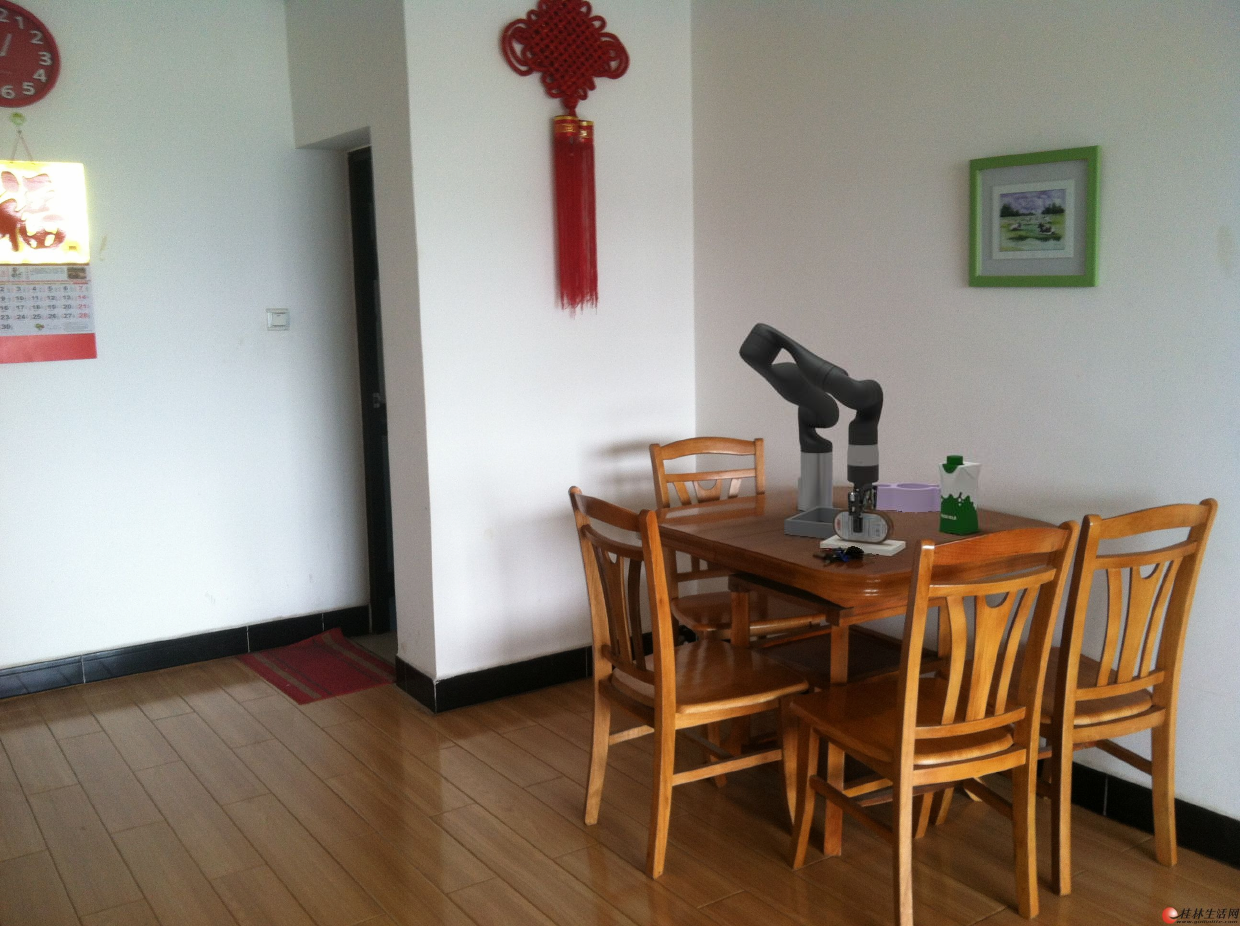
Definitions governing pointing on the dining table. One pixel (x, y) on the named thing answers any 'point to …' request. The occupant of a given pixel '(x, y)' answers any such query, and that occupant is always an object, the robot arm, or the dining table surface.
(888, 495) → the clip
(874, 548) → the cream board
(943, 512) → the milk carton
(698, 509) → the dining table surface
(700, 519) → the dining table surface
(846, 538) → the tin
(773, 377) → the robot arm
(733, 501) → the dining table surface
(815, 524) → the bin
